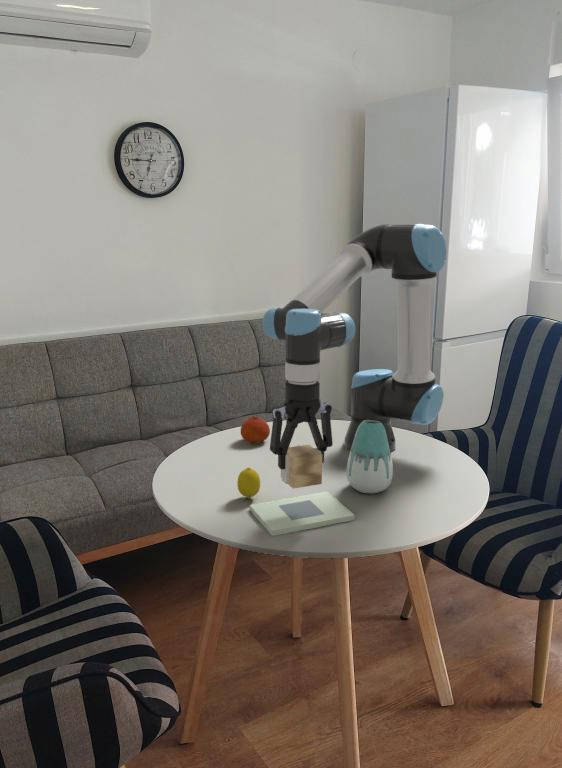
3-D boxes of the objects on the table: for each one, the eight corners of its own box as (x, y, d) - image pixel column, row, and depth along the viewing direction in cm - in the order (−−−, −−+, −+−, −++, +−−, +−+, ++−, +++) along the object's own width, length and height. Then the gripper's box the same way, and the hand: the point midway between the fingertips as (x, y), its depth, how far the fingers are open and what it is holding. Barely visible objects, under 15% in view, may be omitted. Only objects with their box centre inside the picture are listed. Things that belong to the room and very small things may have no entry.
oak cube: (308, 472, 150) (309, 444, 149) (321, 483, 144) (322, 454, 142) (280, 477, 148) (280, 448, 146) (293, 488, 141) (293, 458, 140)
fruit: (262, 448, 191) (261, 422, 189) (235, 444, 195) (235, 418, 193) (275, 439, 199) (275, 414, 197) (249, 435, 202) (249, 411, 200)
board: (326, 496, 158) (326, 491, 158) (354, 519, 146) (354, 514, 145) (249, 509, 151) (249, 504, 150) (272, 536, 138) (272, 530, 138)
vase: (365, 476, 170) (367, 411, 166) (401, 488, 162) (404, 420, 158) (336, 488, 163) (338, 420, 158) (373, 502, 155) (375, 431, 150)
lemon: (237, 494, 159) (236, 463, 157) (259, 493, 160) (259, 463, 158) (237, 503, 154) (237, 472, 152) (261, 502, 154) (260, 471, 152)
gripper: (335, 373, 147) (332, 467, 153) (253, 380, 140) (254, 479, 145) (351, 380, 141) (347, 478, 146) (266, 388, 133) (266, 492, 139)
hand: (301, 479), depth 146 cm, fingers closed on oak cube, 7 cm apart
